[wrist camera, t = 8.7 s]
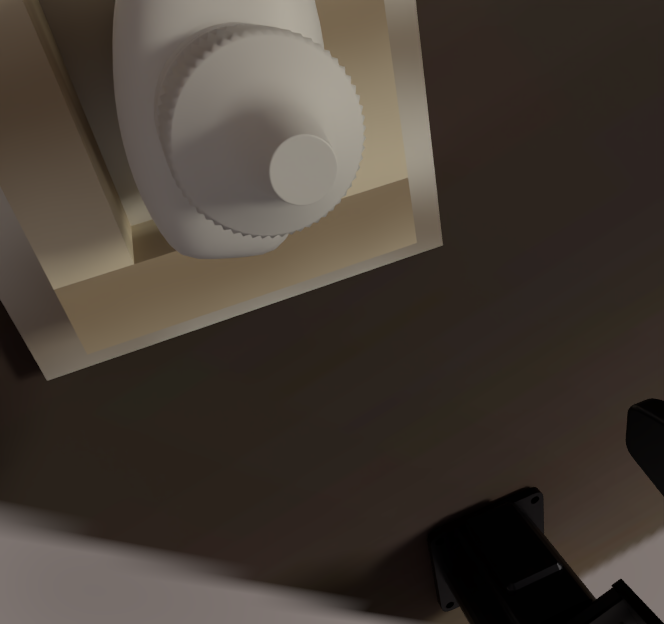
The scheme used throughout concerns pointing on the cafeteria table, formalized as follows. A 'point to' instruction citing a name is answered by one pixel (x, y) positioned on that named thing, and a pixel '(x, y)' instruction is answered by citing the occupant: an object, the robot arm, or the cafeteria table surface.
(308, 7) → the eye dropper bottle
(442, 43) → the cafeteria table surface
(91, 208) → the collar block
